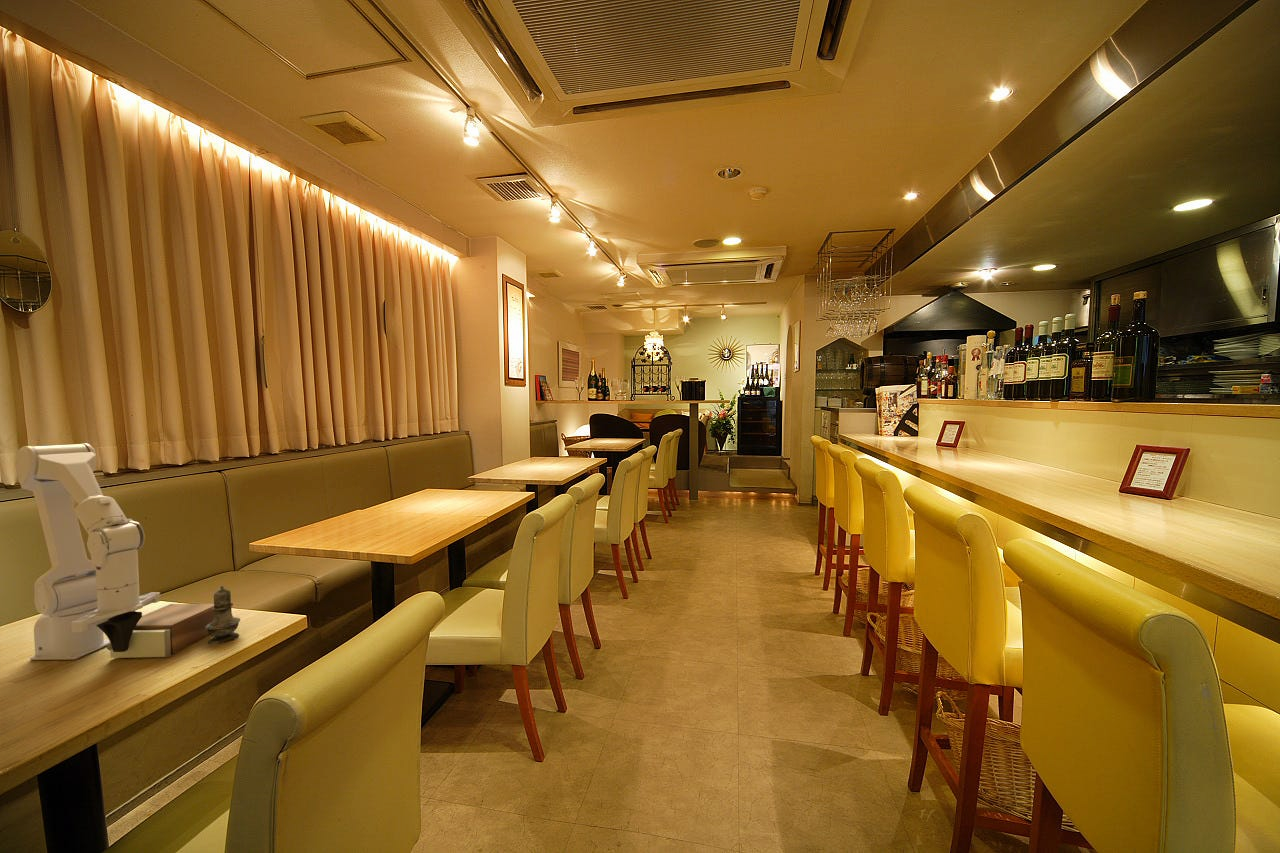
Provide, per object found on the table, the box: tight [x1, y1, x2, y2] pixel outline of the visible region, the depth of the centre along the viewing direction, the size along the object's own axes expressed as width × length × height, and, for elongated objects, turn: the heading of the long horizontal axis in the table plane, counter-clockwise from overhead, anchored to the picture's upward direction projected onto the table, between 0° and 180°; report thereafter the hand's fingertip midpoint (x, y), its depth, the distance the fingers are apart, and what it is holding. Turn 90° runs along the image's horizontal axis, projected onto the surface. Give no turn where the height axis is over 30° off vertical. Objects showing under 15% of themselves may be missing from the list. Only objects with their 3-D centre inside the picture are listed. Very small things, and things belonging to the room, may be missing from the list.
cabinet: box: [134, 603, 214, 656], centre depth 104 cm, size 11×11×6 cm
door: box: [106, 629, 172, 659], centre depth 97 cm, size 11×2×6 cm, turn 92°
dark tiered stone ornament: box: [205, 585, 241, 646], centre depth 105 cm, size 6×6×12 cm
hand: (120, 651), depth 96 cm, fingers closed
